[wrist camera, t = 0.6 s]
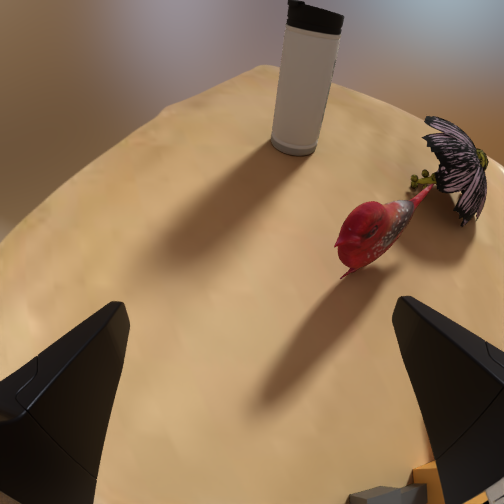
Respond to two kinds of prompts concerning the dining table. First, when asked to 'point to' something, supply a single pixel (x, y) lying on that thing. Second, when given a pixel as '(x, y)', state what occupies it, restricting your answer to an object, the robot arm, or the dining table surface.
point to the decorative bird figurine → (374, 230)
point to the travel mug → (305, 77)
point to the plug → (411, 490)
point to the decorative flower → (456, 167)
